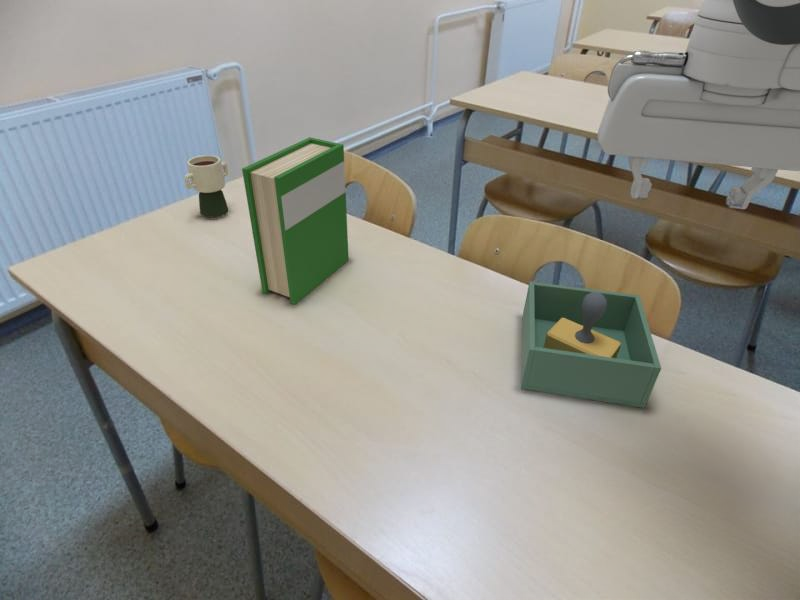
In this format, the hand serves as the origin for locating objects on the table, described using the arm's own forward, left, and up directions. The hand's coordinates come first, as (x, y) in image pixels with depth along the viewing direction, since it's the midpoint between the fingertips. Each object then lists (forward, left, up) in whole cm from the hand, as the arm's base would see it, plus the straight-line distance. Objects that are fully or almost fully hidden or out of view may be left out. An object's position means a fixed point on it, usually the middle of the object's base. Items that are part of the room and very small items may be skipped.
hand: (685, 201), depth 53 cm
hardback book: (+53, -25, -33) cm, 67 cm away
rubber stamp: (+3, -12, -32) cm, 35 cm away
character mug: (+83, -45, -33) cm, 100 cm away
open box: (+3, -12, -33) cm, 35 cm away
